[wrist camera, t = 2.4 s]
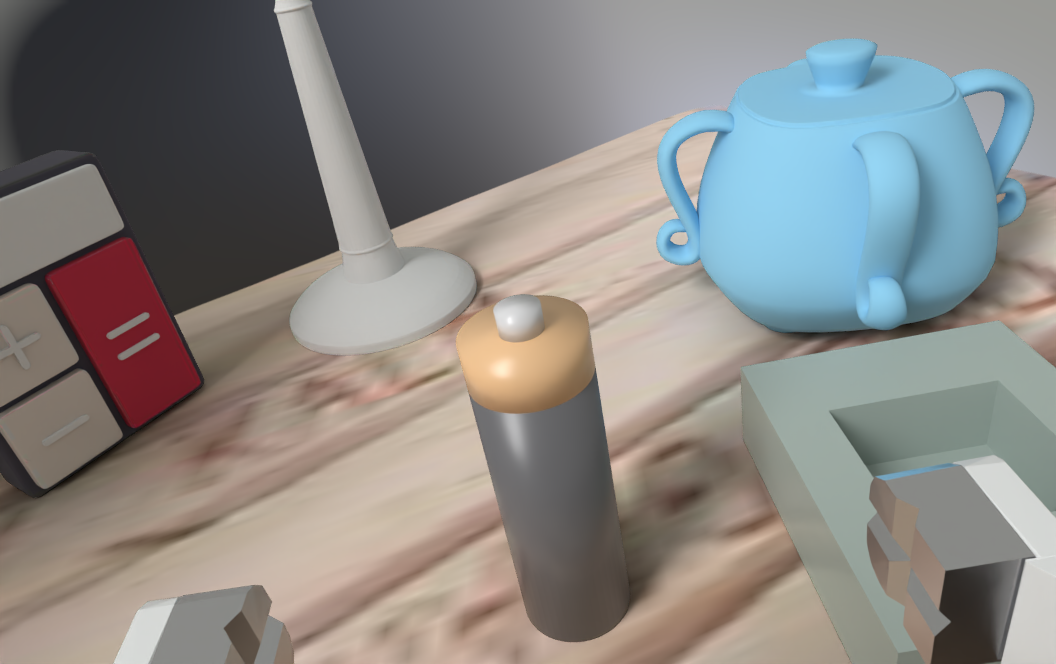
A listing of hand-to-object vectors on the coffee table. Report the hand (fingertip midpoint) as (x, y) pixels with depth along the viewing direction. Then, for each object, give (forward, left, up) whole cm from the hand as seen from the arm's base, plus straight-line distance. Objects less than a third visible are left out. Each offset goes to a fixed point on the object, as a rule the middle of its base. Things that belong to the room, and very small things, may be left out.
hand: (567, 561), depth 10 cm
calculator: (-26, +30, -16) cm, 42 cm away
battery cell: (-1, +13, -16) cm, 20 cm away
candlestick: (-11, +40, -16) cm, 44 cm away
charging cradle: (+13, +13, -16) cm, 24 cm away
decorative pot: (+17, +31, -16) cm, 39 cm away
